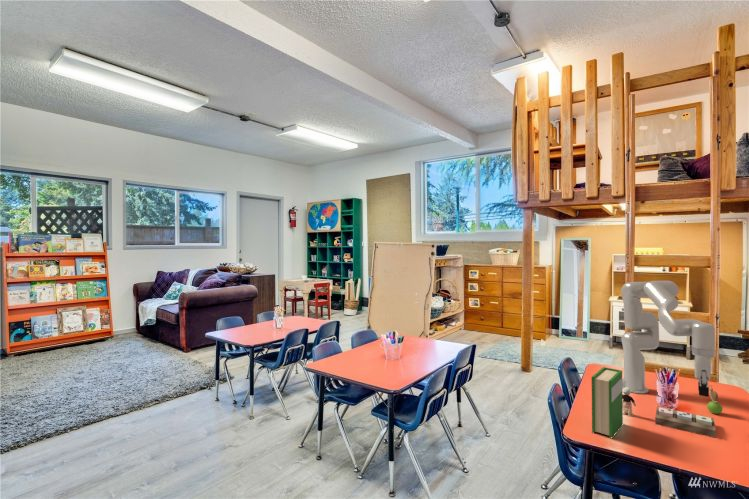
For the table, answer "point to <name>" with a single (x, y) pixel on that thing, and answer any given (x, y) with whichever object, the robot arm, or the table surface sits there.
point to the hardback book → (607, 401)
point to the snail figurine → (714, 403)
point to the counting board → (685, 424)
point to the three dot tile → (684, 416)
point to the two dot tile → (666, 412)
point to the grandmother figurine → (627, 402)
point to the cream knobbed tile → (703, 420)
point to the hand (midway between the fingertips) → (703, 393)
